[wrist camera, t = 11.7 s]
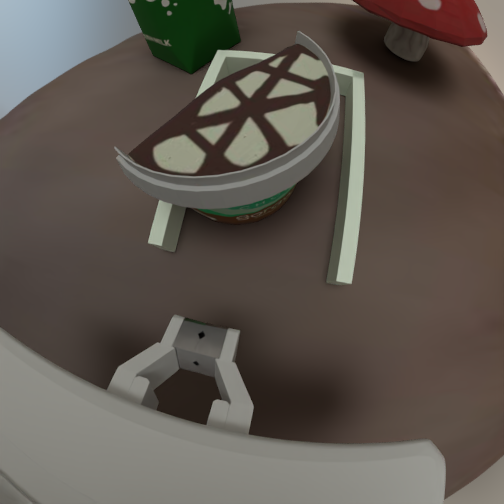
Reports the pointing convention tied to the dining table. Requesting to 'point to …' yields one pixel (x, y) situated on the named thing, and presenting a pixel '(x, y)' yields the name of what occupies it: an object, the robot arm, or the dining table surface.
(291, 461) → the robot arm
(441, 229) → the dining table surface
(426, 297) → the dining table surface
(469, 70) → the dining table surface
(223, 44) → the milk carton
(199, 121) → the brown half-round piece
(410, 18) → the decorative mushroom
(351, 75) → the pale green u-shaped frame
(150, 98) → the dining table surface
